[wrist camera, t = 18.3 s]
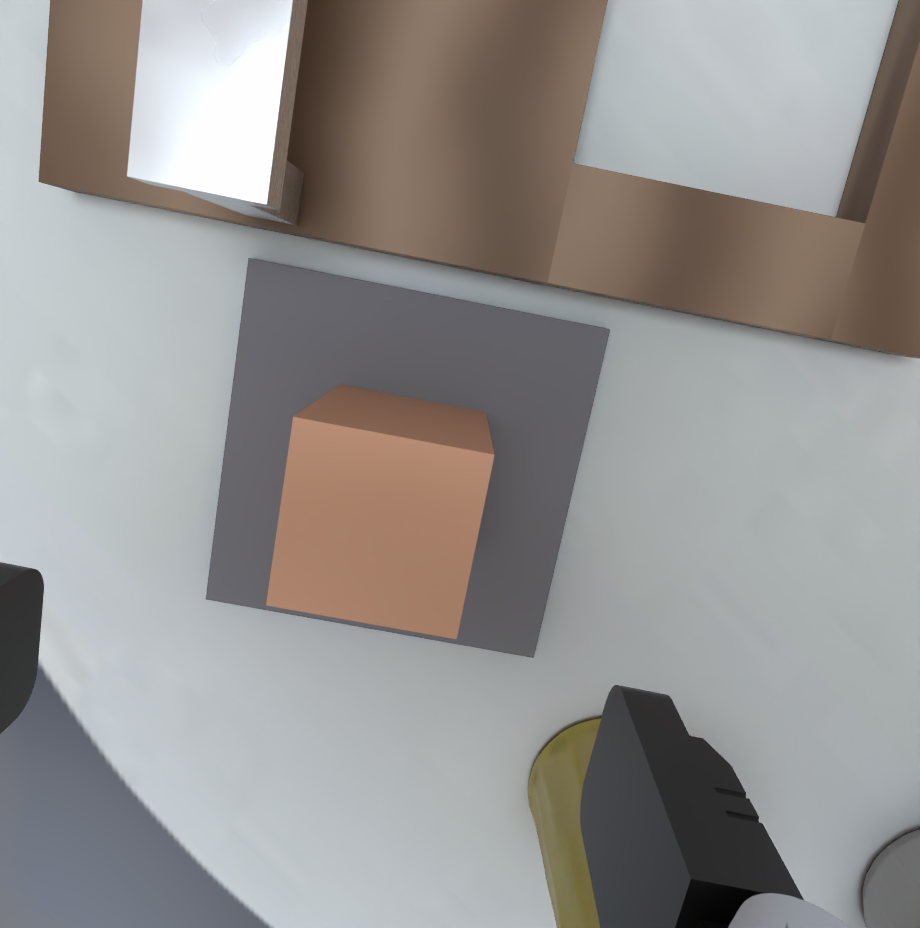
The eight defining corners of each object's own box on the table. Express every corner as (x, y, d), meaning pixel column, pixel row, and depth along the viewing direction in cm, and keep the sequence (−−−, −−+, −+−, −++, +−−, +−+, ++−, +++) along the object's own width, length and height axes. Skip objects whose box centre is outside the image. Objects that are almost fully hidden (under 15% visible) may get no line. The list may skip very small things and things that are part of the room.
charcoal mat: (607, 328, 25) (610, 329, 24) (532, 651, 28) (533, 657, 27) (252, 258, 24) (248, 258, 24) (210, 593, 27) (205, 599, 27)
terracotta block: (485, 412, 25) (494, 455, 18) (458, 550, 26) (456, 639, 19) (339, 384, 25) (293, 416, 18) (317, 524, 26) (265, 605, 19)
